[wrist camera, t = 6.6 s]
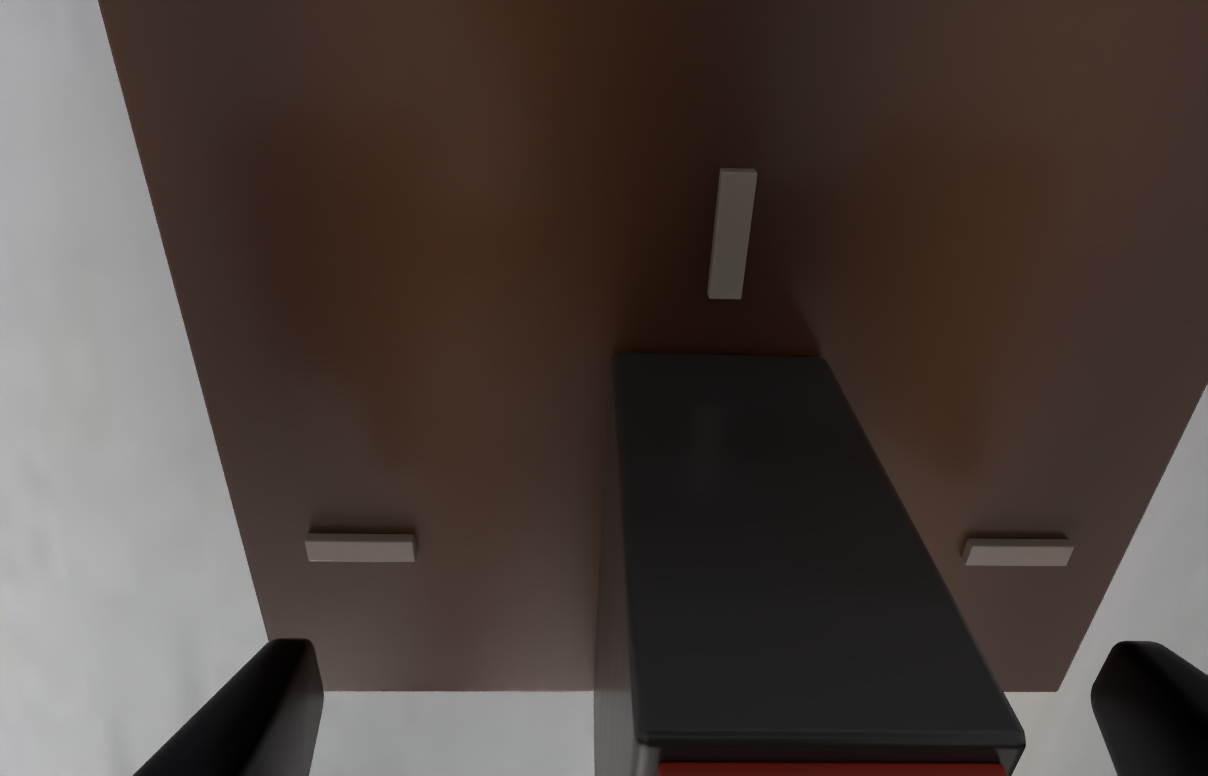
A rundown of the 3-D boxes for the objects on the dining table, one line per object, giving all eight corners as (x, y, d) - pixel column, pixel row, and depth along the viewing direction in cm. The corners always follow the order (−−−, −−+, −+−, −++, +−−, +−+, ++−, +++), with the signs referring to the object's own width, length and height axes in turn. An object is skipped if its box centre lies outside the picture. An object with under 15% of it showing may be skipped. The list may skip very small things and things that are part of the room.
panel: (348, 635, 16) (300, 786, 13) (212, -76, 10) (67, -67, 7) (949, 636, 16) (1022, 783, 14) (1195, -42, 10) (1423, -21, 7)
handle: (755, 696, 12) (853, 1148, 8) (593, 695, 12) (599, 1151, 8) (827, 354, 9) (1057, 777, 5) (611, 349, 9) (636, 777, 5)
